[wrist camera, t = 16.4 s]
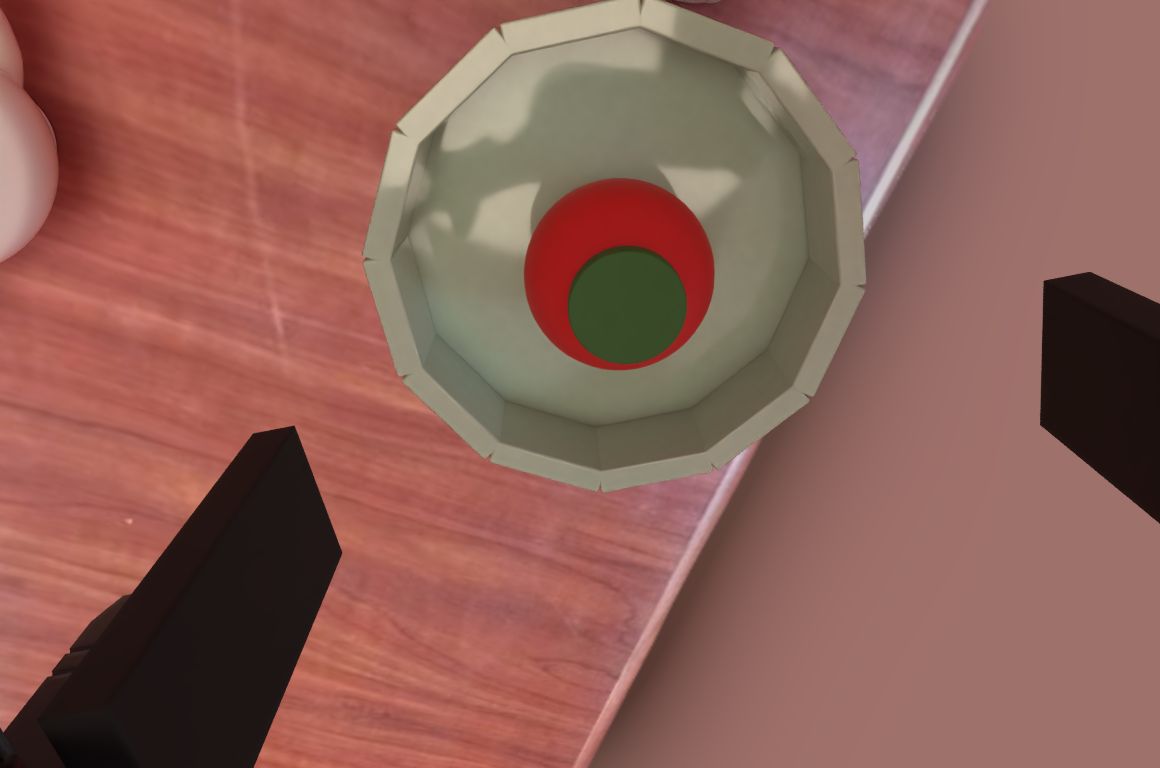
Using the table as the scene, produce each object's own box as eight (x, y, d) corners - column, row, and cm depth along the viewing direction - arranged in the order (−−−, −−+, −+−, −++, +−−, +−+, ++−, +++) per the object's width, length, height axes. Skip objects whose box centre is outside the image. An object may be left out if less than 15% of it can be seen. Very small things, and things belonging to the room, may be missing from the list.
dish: (718, -18, 36) (846, -53, 20) (754, 285, 42) (877, 441, 26) (408, 50, 37) (300, 67, 21) (484, 339, 42) (443, 523, 27)
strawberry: (682, 145, 25) (720, 180, 20) (706, 310, 27) (747, 385, 22) (510, 181, 26) (497, 226, 20) (546, 342, 28) (545, 424, 22)
